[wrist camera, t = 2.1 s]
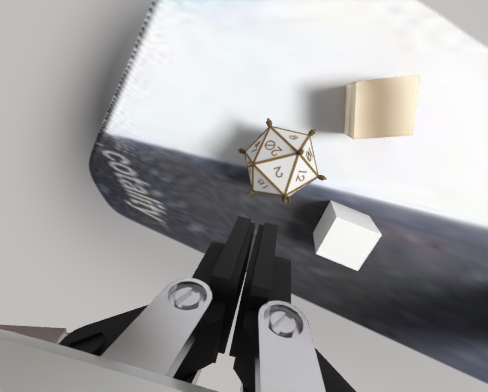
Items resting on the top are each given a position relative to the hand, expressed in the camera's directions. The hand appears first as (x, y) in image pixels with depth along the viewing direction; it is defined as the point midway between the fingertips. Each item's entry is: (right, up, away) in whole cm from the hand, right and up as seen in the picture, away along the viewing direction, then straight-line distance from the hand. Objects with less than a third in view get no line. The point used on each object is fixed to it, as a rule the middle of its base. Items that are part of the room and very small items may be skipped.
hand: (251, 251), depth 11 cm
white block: (+12, -1, +22) cm, 25 cm away
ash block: (+13, +12, +17) cm, 24 cm away
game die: (+4, +7, +20) cm, 22 cm away
